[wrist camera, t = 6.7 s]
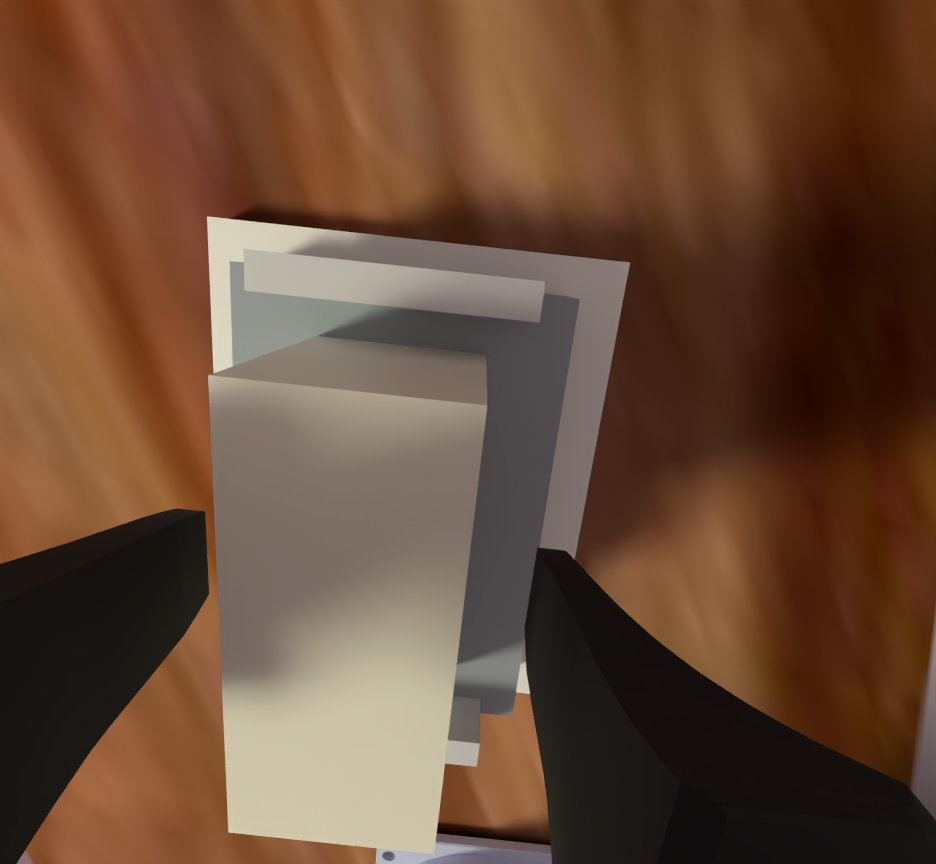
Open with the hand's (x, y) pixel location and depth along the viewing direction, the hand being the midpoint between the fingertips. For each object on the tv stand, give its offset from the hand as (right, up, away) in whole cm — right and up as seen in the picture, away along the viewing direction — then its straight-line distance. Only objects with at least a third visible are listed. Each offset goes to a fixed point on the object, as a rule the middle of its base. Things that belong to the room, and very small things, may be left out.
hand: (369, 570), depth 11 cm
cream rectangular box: (0, +1, +2) cm, 2 cm away
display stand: (0, +2, +5) cm, 6 cm away
